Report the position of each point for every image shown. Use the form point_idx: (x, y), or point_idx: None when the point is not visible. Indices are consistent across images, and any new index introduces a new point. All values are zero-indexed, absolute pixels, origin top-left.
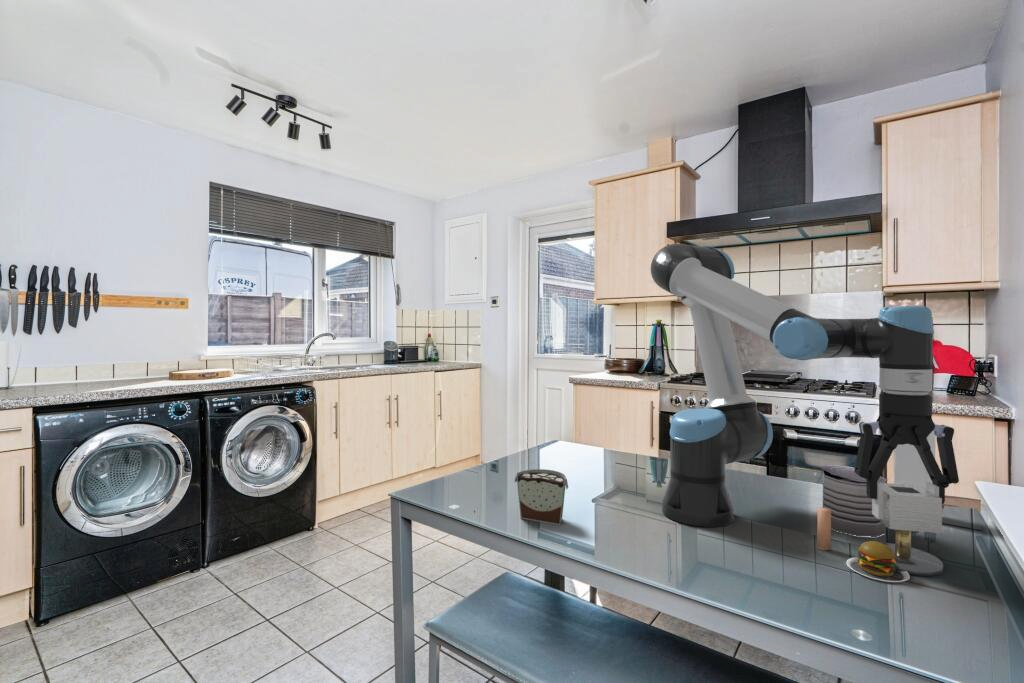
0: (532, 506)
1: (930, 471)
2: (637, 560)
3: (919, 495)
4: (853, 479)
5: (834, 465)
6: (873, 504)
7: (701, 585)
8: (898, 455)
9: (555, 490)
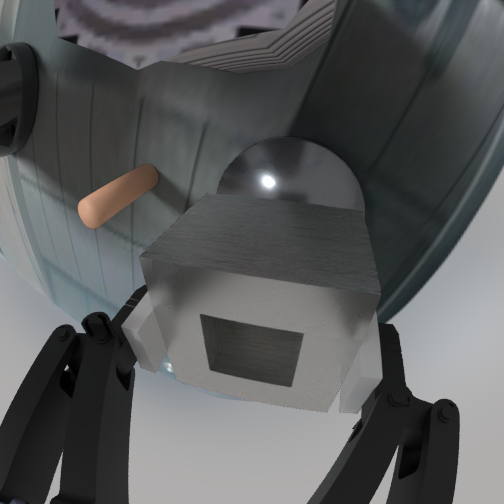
0: None
1: (338, 461)
2: (19, 261)
3: (268, 397)
4: (125, 48)
5: None
6: None
7: (62, 301)
8: None
9: None
